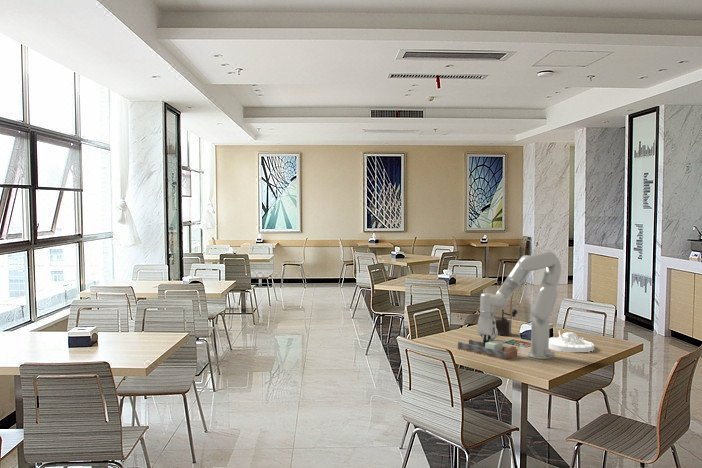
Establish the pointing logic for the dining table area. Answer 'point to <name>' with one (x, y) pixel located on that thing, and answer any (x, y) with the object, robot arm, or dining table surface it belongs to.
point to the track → (488, 350)
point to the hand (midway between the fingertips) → (486, 346)
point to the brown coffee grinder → (505, 324)
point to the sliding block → (494, 345)
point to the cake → (570, 343)
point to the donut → (495, 334)
